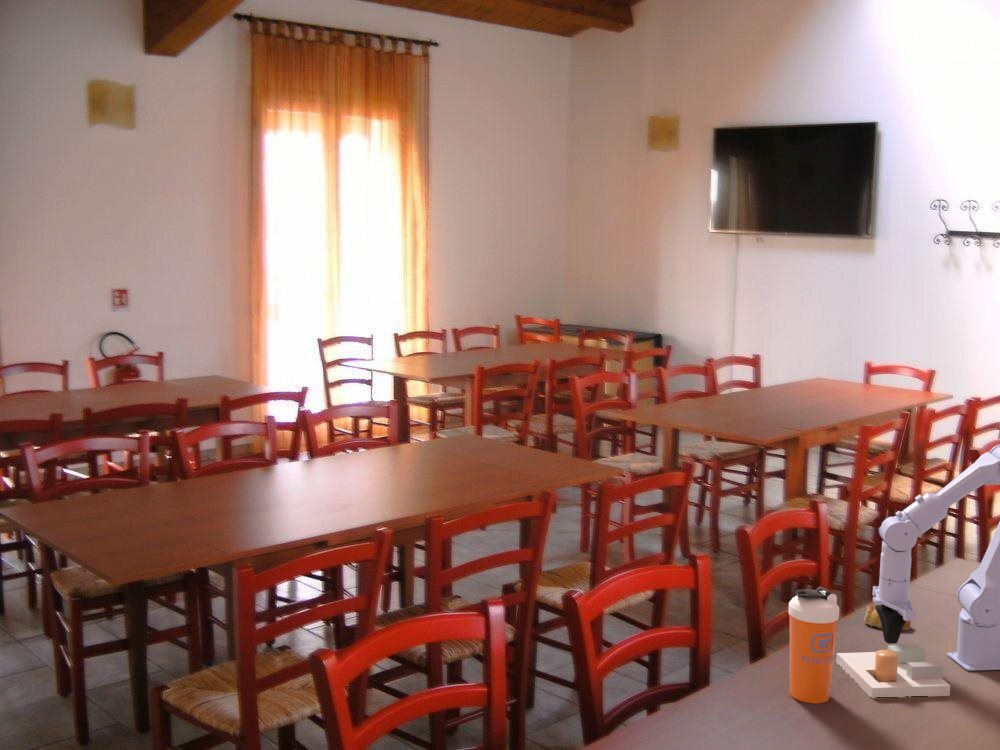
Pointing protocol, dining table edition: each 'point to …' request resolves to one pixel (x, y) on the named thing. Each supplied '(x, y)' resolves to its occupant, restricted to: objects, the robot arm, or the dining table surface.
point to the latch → (908, 653)
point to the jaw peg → (886, 666)
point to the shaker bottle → (812, 644)
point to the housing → (909, 677)
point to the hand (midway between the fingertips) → (890, 642)
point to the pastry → (878, 619)
